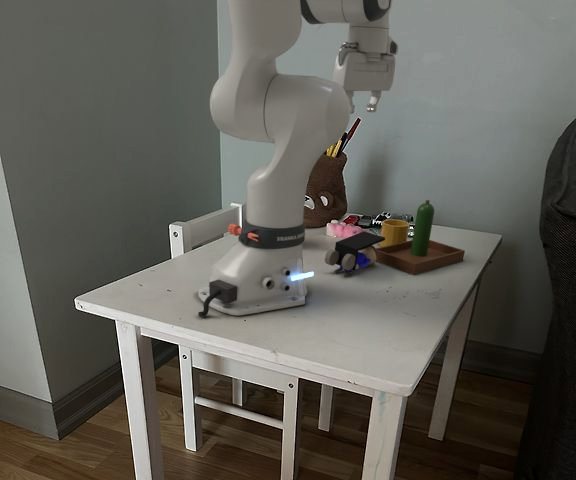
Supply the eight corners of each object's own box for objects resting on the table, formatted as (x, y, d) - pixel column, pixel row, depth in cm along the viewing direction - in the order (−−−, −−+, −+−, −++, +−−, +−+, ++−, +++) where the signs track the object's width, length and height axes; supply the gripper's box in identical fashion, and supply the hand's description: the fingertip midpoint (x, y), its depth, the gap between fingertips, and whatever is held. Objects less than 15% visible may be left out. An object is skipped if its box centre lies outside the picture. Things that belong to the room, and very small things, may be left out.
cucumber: (419, 257, 135) (429, 202, 128) (407, 253, 137) (415, 199, 130) (429, 254, 137) (439, 200, 130) (417, 250, 139) (426, 197, 133)
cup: (394, 251, 141) (397, 227, 138) (373, 244, 145) (376, 221, 142) (411, 247, 145) (415, 224, 142) (391, 240, 149) (394, 218, 146)
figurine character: (347, 286, 121) (384, 264, 130) (348, 254, 116) (386, 233, 126) (323, 279, 125) (360, 258, 134) (323, 247, 120) (362, 227, 129)
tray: (413, 275, 126) (415, 264, 124) (371, 259, 134) (372, 249, 133) (462, 260, 136) (465, 250, 135) (420, 247, 145) (422, 237, 144)
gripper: (352, 41, 113) (346, 115, 120) (402, 46, 127) (394, 112, 134) (328, 40, 117) (323, 113, 124) (379, 45, 130) (372, 110, 138)
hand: (360, 112), depth 129 cm, fingers open, 8 cm apart
